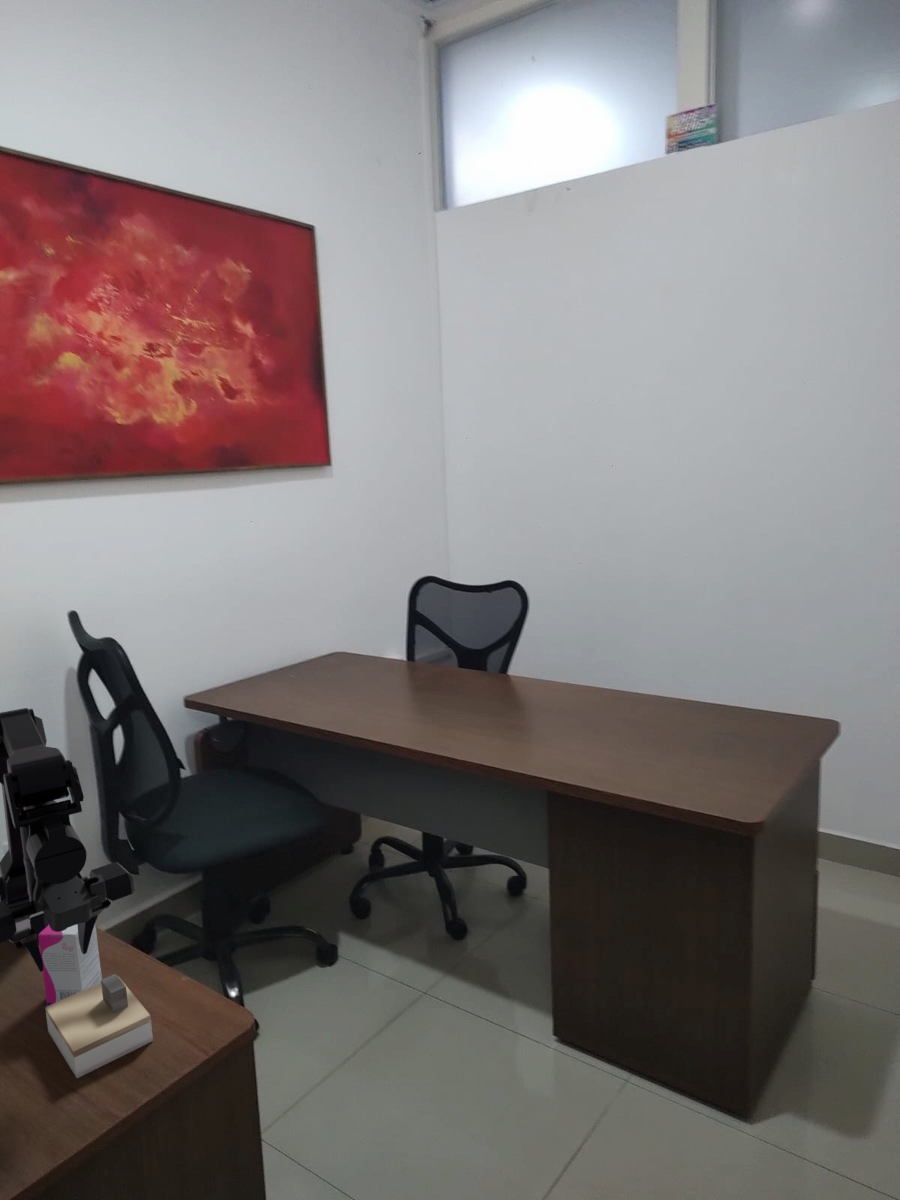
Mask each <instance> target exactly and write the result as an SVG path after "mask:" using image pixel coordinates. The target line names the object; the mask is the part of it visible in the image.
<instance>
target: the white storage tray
mask: <svg viewBox="0 0 900 1200" xmlns="http://www.w3.org/2000/svg"><path fill="white" fill-rule="evenodd" d="M45 1015H46V1016H45V1018H46V1024H47V1031H48V1034H49V1036H50V1037H51V1039H52V1040H53V1042H54V1044H55V1046H56V1047H57V1048H58V1050H59V1053H60V1054H61V1055H62V1057H63V1059H64V1060H65V1062H66V1064H67V1065H68V1066H69V1068H70V1070H71V1072H72V1073H73V1075H74V1076H75V1078H76V1079H80V1078H82V1077H83V1076H85V1075H88V1074H89V1073H91V1072H93V1071H95V1070H98V1069H100V1068H101V1067H103V1066H106V1065H108V1064H109V1063H111V1062H113V1061H114V1062H115V1060H117V1059H119V1058H121V1057H124V1056H126V1055H127V1054H129V1053H131V1052H134V1051H136V1050H137V1049H139V1048H140V1049H141V1048H142V1047H144V1046H146V1045H148V1044H150V1043H151V1042H153V1041H154V1037H153V1025H152V1020H151V1021H149V1022H147V1023H145V1024H143V1025H141V1026H138V1027H136V1028H134V1029H132V1030H130V1031H128V1032H126V1033H124V1034H122V1035H120V1036H118V1037H115V1038H113V1039H111V1040H109V1041H107V1042H105V1043H103V1044H101V1045H99V1046H97V1047H94V1048H92V1049H90V1050H88V1051H86V1052H84V1053H82V1054H80V1055H78V1056H76V1057H74V1056H73V1055H72V1053H71V1052H70V1050H69V1048H68V1047H67V1045H66V1044H65V1042H64V1040H63V1039H62V1037H61V1036H60V1034H59V1032H58V1031H57V1029H56V1028H55V1026H54V1025H53V1023H52V1021H51V1020H50V1018H49V1017H48V1015H47V1013H46V1012H45Z"/></svg>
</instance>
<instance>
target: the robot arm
mask: <svg viewBox="0 0 900 1200" xmlns="http://www.w3.org/2000/svg"><path fill="white" fill-rule="evenodd" d="M77 770H78V769H77V768H76V767H75V766H73V761H71V760H70V759H66V758H65V756H64V754H63V753H62V752H61V750H60V749H59V748H57V747H50V746H47V736H46V731H45V727H44V722H43V719H42V718H41V717H38V716H36V715H35V712H34V709H33V708H27V707H25V708H19V709H13V710H7V711H2V712H0V784H1V789H2V792H1V793H2V799H3V800H2V801H3V810H4V817H5V819H4V820H5V827H6V838H7V845H8V850H7V851H6V852H5V854H4V855H3V857H2V858H1V860H0V944H2V943H5V942H7V941H8V942H10V943H12V944H13V946H14V947H15V949H21V948H23V947H24V948H25V949H26V951H27V952H28V954H29V955H30V957H31V959H32V961H33V962H34V964H35V966H36V968H37V970H38V971H39V973H41V972H43V961H42V957H41V952H40V945H39V938H38V935H39V933H40V932H42V931H43V930H44V929H45V928H46V927H47V926H48V925H50V928H51V930H53V931H55V932H60V931H63V930H66V929H67V928H68V927H71V926H73V925H76V924H77V925H78V937H79V944H80V948H81V952H82V953H83V954H86V953H87V950H88V946H89V943H90V939H91V935H92V931H93V928H94V925H95V926H96V922H97V920H98V917H99V915H100V914H101V913H102V912H103V911H104V910H107V909H108V908H109V907H110V906H111V905H112V903H111V902H114V901H117V900H121V899H123V898H125V897H128V896H131V895H133V894H134V892H135V884H134V878H133V875H132V874H131V873H130V872H129V871H128V870H127V869H126V868H125V867H124V866H123V865H121V864H120V863H119V862H117V861H114V862H111V863H108V864H105V865H103V866H99V867H97V868H94V869H91V870H90V872H89V877H88V876H87V875H86V876H82V875H81V872H82V871H83V868H84V867H85V865H86V862H87V857H88V855H87V850H86V847H85V845H84V844H83V842H82V841H81V838H80V837H79V835H78V834H77V832H76V830H75V828H74V827H73V825H72V823H71V820H70V816H71V815H75V814H78V813H82V812H83V809H82V804H81V802H84V798H85V796H84V792H83V788H82V786H81V782H80V778H79V775H78V771H77ZM69 796H70V798H71V799H66V800H62V801H61V800H60V799H64V798H67V797H69ZM56 800H60V801H56Z"/></svg>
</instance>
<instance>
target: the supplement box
mask: <svg viewBox="0 0 900 1200" xmlns="http://www.w3.org/2000/svg"><path fill="white" fill-rule="evenodd" d="M38 938H39V941H38V946H39V950H40V953H41V957H42V961H43V971H42V975H43V981H44V983H43V984H44V988H45V989H44V990H45V998H46V999H45V1000H46V1006H49V1005H51V1004H53V1003H56V1002H58V1001H60V1000H63V999H65V998H67V997H70V996H72V995H74V994H77V993H79V992H81V991H84V990H86V989H88V988H91V987H93V986H95V985H97V984H100V983H101V980H102V979H103V977H102V976H103V975H102V970H101V960H100V953H99V944H98V936H97V927H96V924H95V925H94V928H93V931H92V935H91V939H90V943H89V946H88V950H87V953H86V954H83V953H82V952H81V948H80V944H79V937H78V925H77V924H76V925H73V926H71V927H68V928H67V929H66V930H63V931H60V932H55V931H53V930H51V928H50V925H48V926H47V927H46V928H45V929H44V930H43V931H42V932H40V933H39V935H38Z"/></svg>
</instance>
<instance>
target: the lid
mask: <svg viewBox="0 0 900 1200" xmlns="http://www.w3.org/2000/svg"><path fill="white" fill-rule="evenodd" d="M44 1009H45V1014H46V1013H47V1015H48V1017H49V1018H50V1020H51V1021H52V1023H53V1025H54V1026H55V1028H56V1029H57V1031H58V1032H59V1034H60V1036H61V1037H62V1039H63V1040H64V1042H65V1044H66V1045H67V1047H68V1048H69V1050H70V1052H71V1053H72V1055H73V1056H74V1057H76V1056H78V1055H80V1054H82V1053H84V1052H86V1051H88V1050H90V1049H92V1048H94V1047H97V1046H99V1045H101V1044H103V1043H105V1042H107V1041H109V1040H111V1039H113V1038H115V1037H118V1036H120V1035H122V1034H124V1033H126V1032H128V1031H130V1030H132V1029H134V1028H136V1027H138V1026H141V1025H143V1024H145V1023H147V1022H149V1021H151V1022H152V1020H151V1019H152V1018H151V1014H150V1013H149V1012H148V1011H147V1009H146V1008H145V1007H144V1006H143V1005H142V1003H141V1002H140V1001H139V999H138V998H137V997H136V996H135V994H134V993H133V992H132V991H131V990H130V989H129V987H128V986H127V984H126V983H125V982H124V981H123V980H122V978H121V977H120V976H119V975H117V974H116V973H114V974H111V975H109V976H107V977H104V978H102V980H101V983H100V984H97V985H95V986H93V987H91V988H88V989H86V990H84V991H81V992H79V993H77V994H74V995H72V996H70V997H67V998H65V999H63V1000H60V1001H58V1002H56V1003H53V1004H51V1005H49V1006H47V1005H46V1006H45V1007H44Z"/></svg>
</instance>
